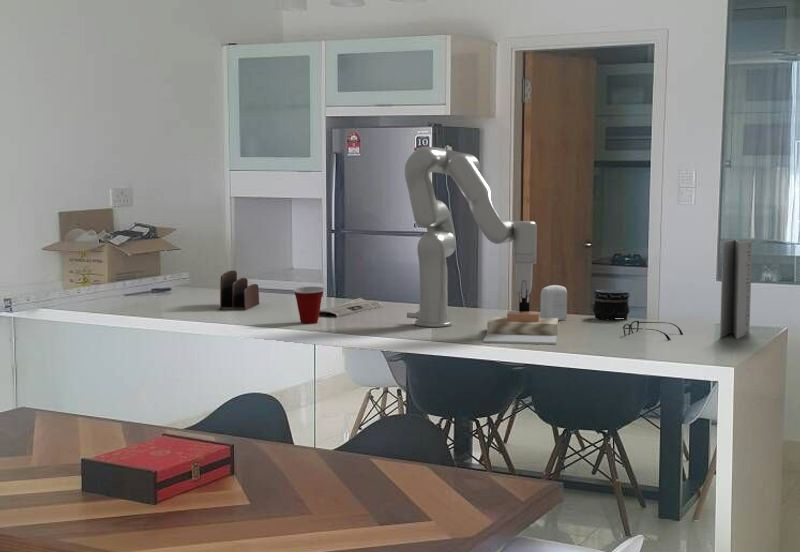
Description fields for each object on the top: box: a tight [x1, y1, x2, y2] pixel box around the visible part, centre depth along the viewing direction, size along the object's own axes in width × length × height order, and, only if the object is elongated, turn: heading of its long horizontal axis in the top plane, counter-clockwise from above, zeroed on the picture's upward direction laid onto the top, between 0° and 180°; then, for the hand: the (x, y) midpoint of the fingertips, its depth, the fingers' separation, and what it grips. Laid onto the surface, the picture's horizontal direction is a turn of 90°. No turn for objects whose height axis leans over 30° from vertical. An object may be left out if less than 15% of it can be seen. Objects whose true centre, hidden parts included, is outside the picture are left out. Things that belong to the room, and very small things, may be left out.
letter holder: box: [219, 270, 260, 312], centre depth 411 cm, size 10×20×14 cm, turn 172°
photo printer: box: [539, 284, 568, 321], centre depth 374 cm, size 10×4×12 cm, turn 123°
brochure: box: [719, 239, 753, 340], centre depth 339 cm, size 14×6×30 cm, turn 148°
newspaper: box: [319, 297, 384, 319], centre depth 400 cm, size 35×12×4 cm, turn 152°
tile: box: [506, 310, 540, 322], centre depth 346 cm, size 10×7×2 cm
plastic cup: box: [292, 286, 325, 325], centre depth 368 cm, size 11×11×12 cm
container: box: [592, 289, 631, 321], centre depth 379 cm, size 13×13×10 cm
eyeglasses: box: [622, 320, 684, 341], centre depth 340 cm, size 16×16×4 cm
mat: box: [482, 333, 558, 346], centre depth 331 cm, size 22×14×1 cm, turn 81°
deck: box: [486, 316, 559, 337], centre depth 346 cm, size 22×14×4 cm, turn 81°
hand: (524, 314), depth 351 cm, fingers closed
